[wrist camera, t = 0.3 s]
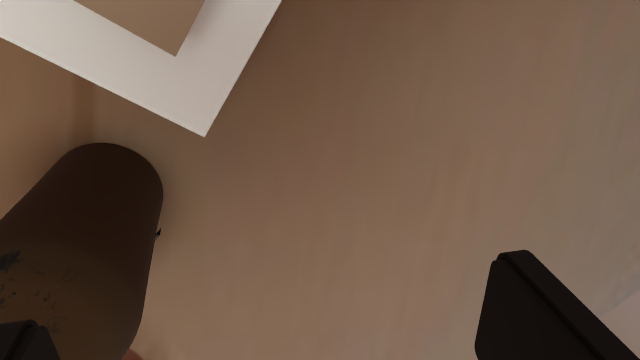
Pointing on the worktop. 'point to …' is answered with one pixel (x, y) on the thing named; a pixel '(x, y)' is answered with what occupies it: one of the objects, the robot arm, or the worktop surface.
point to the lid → (146, 47)
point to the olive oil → (83, 251)
